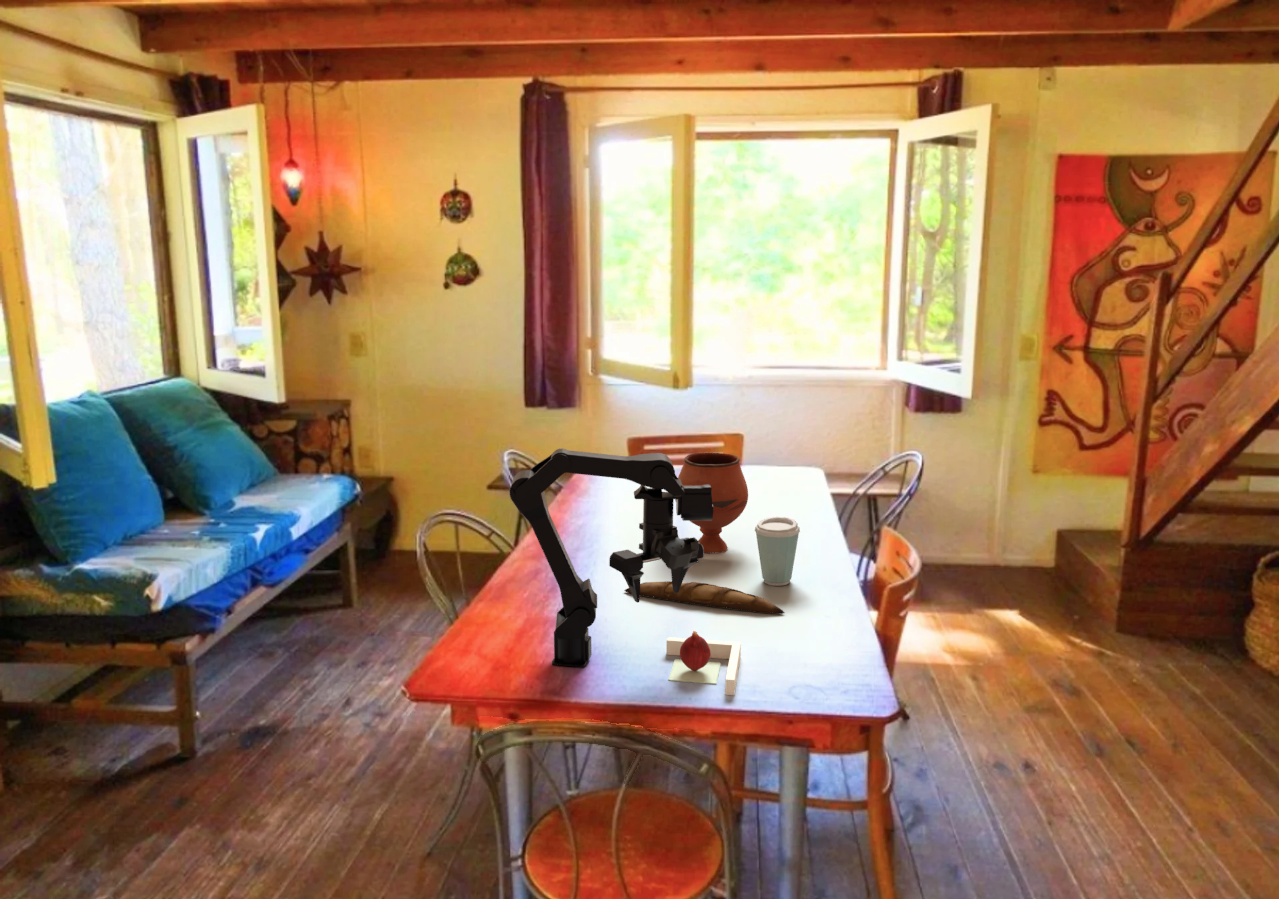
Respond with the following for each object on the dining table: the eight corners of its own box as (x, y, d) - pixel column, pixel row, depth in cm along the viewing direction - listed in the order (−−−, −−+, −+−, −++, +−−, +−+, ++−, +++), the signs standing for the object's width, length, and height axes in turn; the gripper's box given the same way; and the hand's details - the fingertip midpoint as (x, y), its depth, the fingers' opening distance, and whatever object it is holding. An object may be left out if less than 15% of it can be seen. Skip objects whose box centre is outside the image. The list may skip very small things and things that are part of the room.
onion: (716, 670, 182) (717, 631, 180) (697, 680, 178) (697, 640, 176) (692, 661, 186) (693, 623, 184) (673, 671, 181) (674, 632, 180)
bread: (620, 597, 220) (620, 576, 219) (628, 590, 225) (628, 570, 224) (782, 620, 207) (782, 598, 206) (787, 612, 212) (787, 590, 211)
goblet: (664, 541, 260) (665, 452, 254) (729, 534, 265) (731, 447, 260) (688, 563, 242) (690, 468, 236) (758, 556, 247) (760, 463, 242)
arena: (654, 688, 175) (654, 673, 174) (667, 651, 191) (667, 637, 190) (734, 695, 172) (734, 680, 172) (740, 656, 188) (740, 642, 188)
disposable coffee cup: (784, 592, 222) (786, 531, 219) (744, 582, 228) (746, 523, 225) (805, 580, 230) (808, 520, 227) (766, 570, 237) (768, 512, 233)
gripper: (641, 539, 170) (640, 621, 173) (722, 523, 180) (720, 600, 183) (608, 523, 179) (607, 601, 182) (687, 509, 189) (685, 583, 192)
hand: (656, 597), depth 185 cm, fingers open, 9 cm apart
